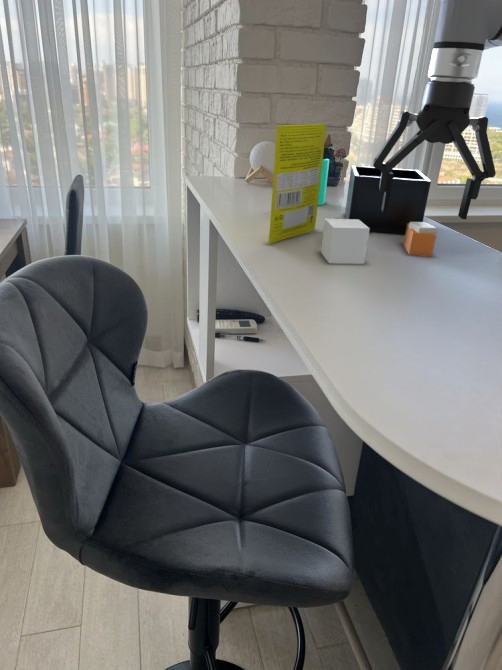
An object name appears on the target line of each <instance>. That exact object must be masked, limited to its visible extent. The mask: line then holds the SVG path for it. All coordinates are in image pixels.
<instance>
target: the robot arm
mask: <svg viewBox="0 0 502 670" xmlns="http://www.w3.org/2000/svg"><path fill="white" fill-rule="evenodd" d="M436 25H437V26H436V30H435V31H436V32H435V36H434V42H433V47H432V51H431V57H430V61H429V66H428V71H427V77H428V78H430V79H429V81H427V82H426V83H425V87H424V92H423V96H422V101H421V102H422V103H421V106H420V107H421V108H420V110H419V112H417V113H418V114H417V113H413V112H409V111H407V110H401V112H400V114H399V117H398V121H397V124H396V125H395V128H394V129H393V130H392V132H391V133H390V135H389V136H388V138H387V139H386V141H385V142H384V144H383V145H382V146H381V148H380V150H379V151H378V153H377V154H376V156H375V157H374V159H373V160H372V164H371V165H372V167H375V168H377V169H379V170H381V178H380V184H379V189H380V191H381V192H384V197H383V203H382V208H381V209H382V211H383V212H387V211H388V205H389V200H390V194H391V189H392V183H393V178H394V174H393V172H390V171H391V170H392V169H395V167H396V166H398V165H399V164H400V163H401V162H402V161H403V160H404V159H405V158H406V157H407V156H408V155H410V154H411V153H412V152H413V151H414V150H415V149H416V148H417V147H418V146H419V145H421V144H423V142H424V141H426V142H427V143H428V144H429V143H430V144H437V143H440V144H444V145H449V144H453V145H454V146H455V148H456V150H457V152H458V153H459V155H460V157H461V159H462V160H463V162H464V164H465V166H466V167H467V169H468V171H469V173H470V175H471V176H472V178H471V177H470V178H469V177H467V178H466V181H465V186H464V190H463V193H462V197H461V203H460V206H459V211H458V214H457V217H459V218H460V219H461V220H467V217H468V214H469V210H470V206H471V201H472V200H477V199H478V197H479V193H480V190H481V186H482V183H483V182H484V180H485V179H490V178H491V179H492V178H494V177H495V176H496V174H497V173H496V167H495V163H494V159H493V154H492V150H491V145H490V140H489V137H488V127H489V118H488V117H487V116H482V115H480V116H478V117H470V110H471V106H472V102H473V98H474V93H475V89H476V86H475V84H474V83H473V81H476V80H477V79H478V75H479V71H480V66H481V61H482V57H483V53H484V50H485V51H486V50H489V49H493V48H497V47H498V48H499V47H502V0H440V8H439V13H438V20H437V24H436ZM414 122H415V123H416V126H417V127H418V129H419V130H418V131H417V132H416V133H415V134H414V135H413V136H412V137H411V138H410V139H409V140H408V141H407V142H406V143H405V144H404V145H403V146H402V147H401V148H400V149H398V150H397V151H396V152H395V153H394V154H393V155H392V156H391V157H390V158H389V159H388V160H387V161H386V162H385V160H386V158H387V157H388V155H389V154H390V153H391V151H392V150H393V149H394V147H395V145H396V144H397V142H398V141H399V139H400V138H401V137H402V135H403V134H404V132H405V130H406V128H407V127H411V126H412V125H413V123H414ZM469 126H470V127H471V130H472V131H473V132H474V134H475V140H476V144H477V149H478V153H479V157H480V161H481V166H482V170H481V168H480V166H479V164H478V162H477V161H476V159H475V157H474V155H473V154H472V152H471V149H470V147H469V146H468V144H467V142H466V140H465V138H464V136H463V135H462V134H463V132H465V130H466V129H467V128H468V127H469Z"/></svg>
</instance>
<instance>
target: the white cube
mask: <svg viewBox="0 0 502 670" xmlns="http://www.w3.org/2000/svg"><path fill="white" fill-rule="evenodd" d="M369 230H370V228H369V227H367V226H366V225H365V224H364V223H362V222H361V221H360V220H359V219H346V218H324V222H323V232H322V240H321V249H320V253H321V255H322V256H323V257H324V258H325V260H326V261H327V263H328V264H338V265H339V264H340V265H341V264H342V265H343V264H344V265H345V264H346V265H347V264H348V265H349V264H350V265H365V261H366V255H367V248H368V241H369V236H370V232H369Z"/></svg>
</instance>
